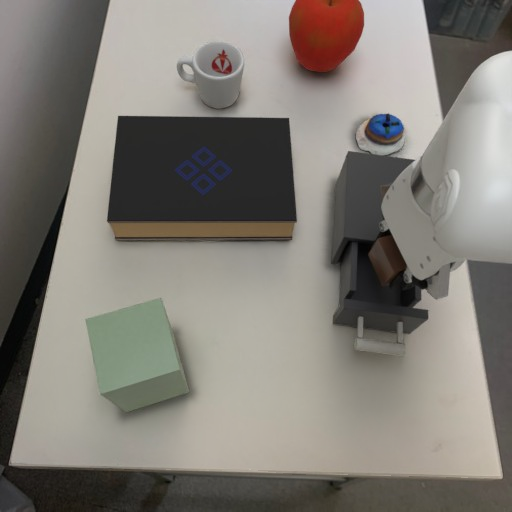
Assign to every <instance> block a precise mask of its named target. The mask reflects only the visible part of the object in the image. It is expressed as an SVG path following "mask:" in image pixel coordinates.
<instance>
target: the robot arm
mask: <svg viewBox="0 0 512 512" xmlns="http://www.w3.org/2000/svg"><path fill="white" fill-rule="evenodd" d="M414 160H415V161H414V162H412V163H411V164H410V165H409V166H408V167H407V168H406V169H405V170H404V171H403V172H402V173H401V174H400V175H399V176H398V177H397V179H396V180H395V181H394V182H393V183H389V184H385V185H381V195H382V205H381V209H382V214H383V221H382V222H380V223H379V228H380V230H381V231H380V233H379V234H378V236H377V238H376V240H375V241H374V243H373V245H372V246H371V247H373V246H374V244H375V242H376V241H377V239H378V238H381V237H385V236H389V235H393V237H394V240H395V242H396V244H397V246H398V248H399V250H400V252H401V254H402V256H403V258H404V260H405V262H406V264H407V266H406V269H405V271H402V272H400V273H398V274H397V275H396V277H395V278H394V279H393V280H392V281H391V283H390V285H389V286H390V289H391V290H392V289H395V288H399V287H401V289H402V290H406V289H409V288H412V287H413V286H415V285H416V286H418V287H419V288H421V290H426V292H427V293H428V294H429V295H430V296H431V297H432V298H433V299H434V300H436V301H437V300H440V299H443V298H448V296H449V289H450V275H451V272H455V271H456V270H458V269H459V268H460V267H461V266H462V265H463V264H464V263H465V262H466V260H468V261H475V262H485V263H486V262H487V263H488V262H489V263H498V264H508V265H509V264H510V265H512V50H508V51H502V52H499V53H497V54H494V55H492V56H490V57H489V58H487V59H486V60H484V61H483V62H481V63H480V64H479V65H478V66H477V67H476V68H475V69H474V71H473V72H472V73H471V75H470V77H468V79H467V80H466V83H465V84H464V86H463V87H462V89H461V91H460V92H459V94H458V95H457V97H456V99H455V101H454V102H453V104H452V106H451V107H450V109H449V110H448V112H447V114H446V115H445V117H444V119H443V120H442V122H441V124H440V126H439V127H438V128H437V130H436V132H435V134H434V135H433V136H432V138H431V140H430V141H429V143H428V145H427V147H426V148H425V149H424V152H423V153H422V155H420V156H419V157H417V158H416V159H414Z"/></svg>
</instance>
